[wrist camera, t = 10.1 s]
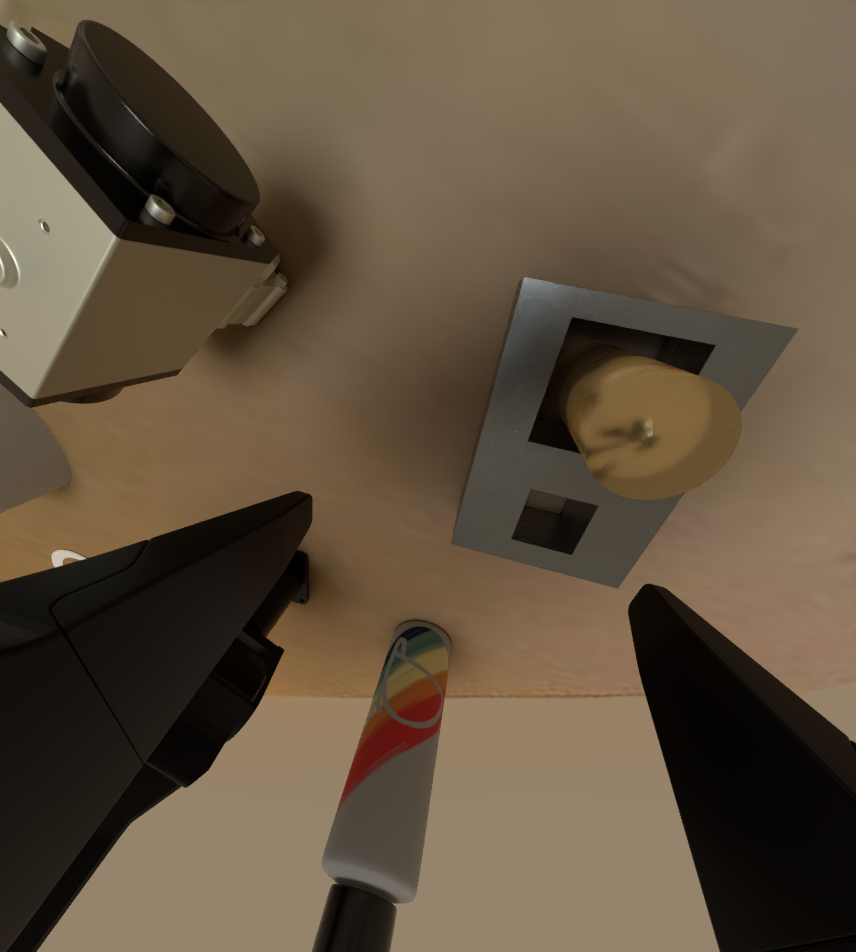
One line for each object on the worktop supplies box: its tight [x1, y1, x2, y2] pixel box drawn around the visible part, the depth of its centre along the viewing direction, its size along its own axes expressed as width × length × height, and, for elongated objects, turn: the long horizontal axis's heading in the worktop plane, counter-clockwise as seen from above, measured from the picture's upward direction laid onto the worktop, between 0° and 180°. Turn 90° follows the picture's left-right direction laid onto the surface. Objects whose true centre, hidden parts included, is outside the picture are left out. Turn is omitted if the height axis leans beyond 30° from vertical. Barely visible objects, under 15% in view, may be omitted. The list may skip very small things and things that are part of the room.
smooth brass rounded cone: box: [549, 341, 741, 500], centre depth 13 cm, size 4×4×9 cm
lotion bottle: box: [312, 621, 451, 952], centre depth 22 cm, size 6×6×20 cm
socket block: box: [451, 277, 798, 588], centre depth 17 cm, size 14×10×4 cm
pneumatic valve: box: [0, 20, 288, 408], centre depth 13 cm, size 6×12×12 cm, turn 125°
